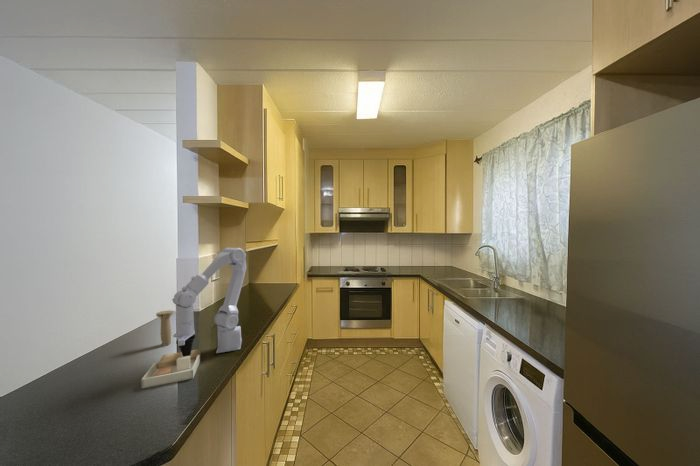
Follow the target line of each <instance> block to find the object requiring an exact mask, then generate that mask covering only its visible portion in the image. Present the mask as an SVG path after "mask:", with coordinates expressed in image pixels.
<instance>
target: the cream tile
mask: <svg viewBox="0 0 700 466" xmlns="http://www.w3.org/2000/svg"><path fill="white" fill-rule="evenodd" d="M190 367H191V360H190V356H185V357H179V358H178V359H177V371H179V370H185V369H190Z"/></svg>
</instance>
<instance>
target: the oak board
mask: <svg viewBox="0 0 700 466" xmlns="http://www.w3.org/2000/svg"><path fill="white" fill-rule="evenodd" d="M201 352H202V351H201V348H197V349H191V354H190V360H191V363H193V362H195V360H196V358H197V356H198V355H200V356H201V355H202V354H201ZM179 357H183V355H182V352H181V351H180V352H175V353H174V352H173V353H167V354H163V355H162V357H161V358H160V359H159V360H158V361H157V362H156V367H157V369H160V368H165V367H170V366H177V359H178V358H179Z"/></svg>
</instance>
